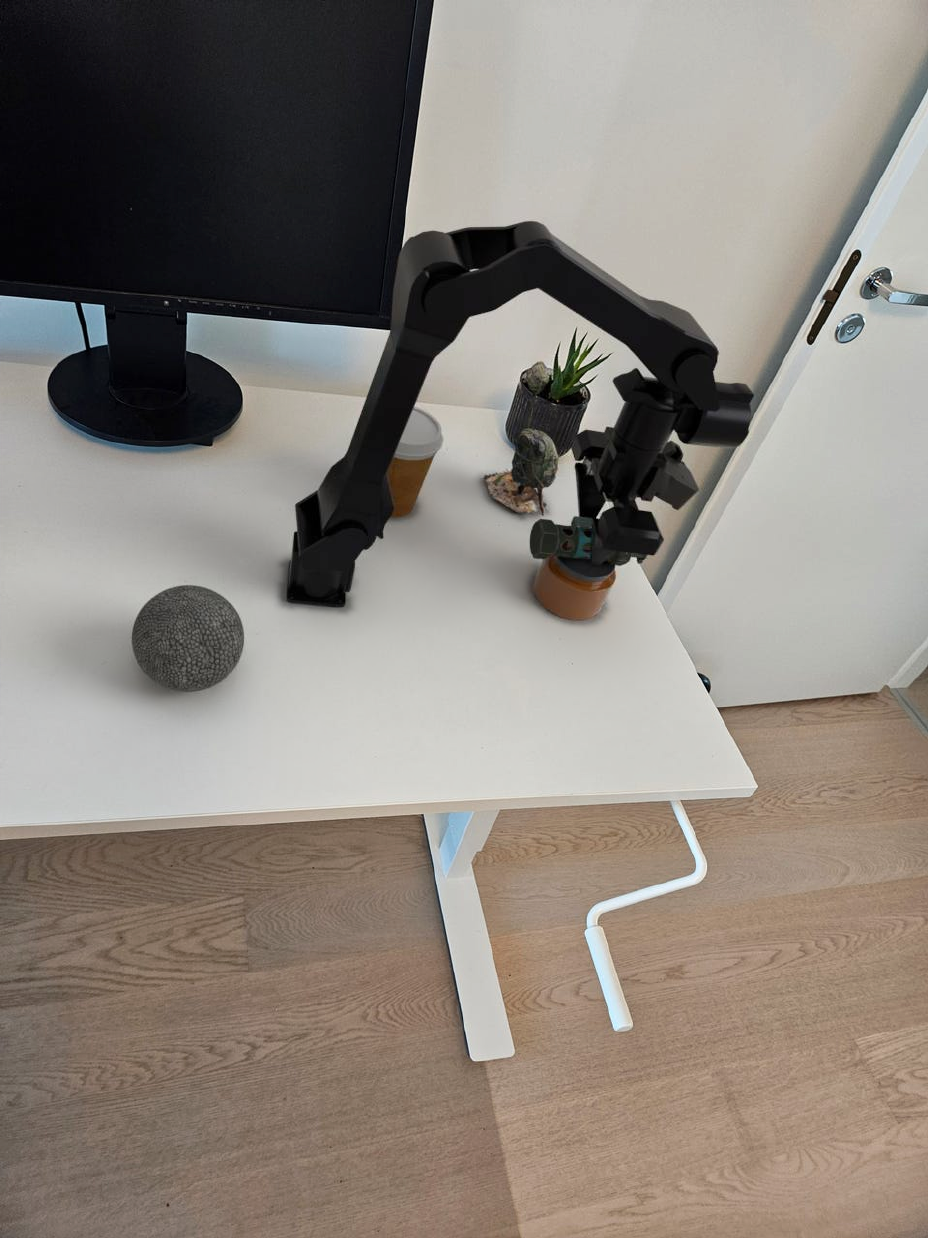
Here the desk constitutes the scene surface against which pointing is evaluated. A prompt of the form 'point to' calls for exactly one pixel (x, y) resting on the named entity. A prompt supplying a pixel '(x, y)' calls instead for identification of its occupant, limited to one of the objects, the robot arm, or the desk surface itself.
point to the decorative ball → (188, 638)
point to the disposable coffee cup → (413, 460)
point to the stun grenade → (570, 541)
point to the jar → (573, 586)
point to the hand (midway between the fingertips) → (588, 546)
